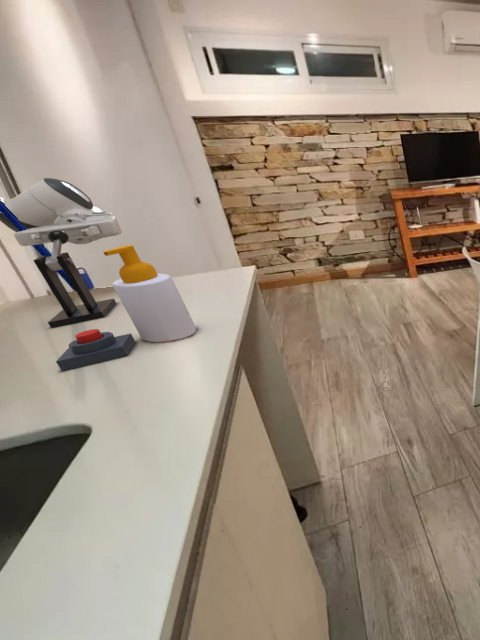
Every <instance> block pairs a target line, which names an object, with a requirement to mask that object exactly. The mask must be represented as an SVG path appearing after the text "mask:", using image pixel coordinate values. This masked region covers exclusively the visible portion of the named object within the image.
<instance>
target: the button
mask: <svg viewBox="0 0 480 640" xmlns="http://www.w3.org/2000/svg"><path fill="white" fill-rule="evenodd" d="M74 337H75V340H78V342H79V344H83V343H88V342H92V341H95V340H98V339H100V338H102V337H103V336H102V334H101V331H100V329H98V328H92V329H87V330H83V331H81V332H79V333H76V334H75V335H74Z"/></svg>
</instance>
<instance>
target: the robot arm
mask: <svg viewBox="0 0 480 640" xmlns="http://www.w3.org/2000/svg"><path fill="white" fill-rule="evenodd" d="M0 201H1V202H3V203H4V204H5V206H6V207H7V208H8V209H9V210H10V211H11V212H12V213H13V214H14V215H15V216H16V217H17V218H18V220H19V221H20V223H21V224H22V225H24V226H25V227H26V228H27V229H26V230H22V231H19V230H18V229H17V228H16V227H15V226H14V225H13V224H12V222H11V221H10V220H9V219H8V218H7V217H6V216H5V215H4V214H3V213H0V222H1V223H2V224H3V225H5V227H7V228H9V229H10V230H12V231H13V232H14V233H13V236H14V239H15V240H16V242H17V243H18V245H20V246H21V247H29V246H36V245H43V244H50V243H52V242H51V241H50V240H49V239H48V234H49V233H50V232H51V231H54V230H60V231H63V232H65V233H66V234H67V235H68V236H69V240H68V242H67V243H71V244H74V245H88V244H91V243H92V242H97V241H98V240H99V241H100V240H101V239H105V238H109V237H115V236H119V235H121V234H123V230H122V228H121V226H120V223H119V222H118V220H117V218H116V216H115V215H114V213H113V212H111V211H107V212H106V211H103V209H101V208H98V207H96V206H94V204H93V201H92V199H91V198H90V196H88V195H87V194H86V193H84V192H83V191H82V190H81V189H80V188H78V187H77V186H75V185H74V184H72V183H70V182H68V181H65V180H62V179H58V178H52V177H45V178H42V179H41V180H39V181H37V182H35V183H34V184H32V185H31V186H30V187H28V188H27V189H26V190H24V191H22V192H21V193H18V194H17V195H16V196H14V197H13V198H4V197H2V196H0Z"/></svg>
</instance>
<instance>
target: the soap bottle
mask: <svg viewBox="0 0 480 640" xmlns="http://www.w3.org/2000/svg"><path fill="white" fill-rule="evenodd" d="M102 253H103V255H104V256H106V257H107V256H113V255H117V254H118V255H119V256H120V259H121V260H122V263H123V265H122V266H121V267H120V268H119V272H118V274H119V277H120V278H119V279H117V280H116V279H115V280H114V281H113V282H112V284H111V285H112V287H113V289H114V291H115V293H116V295H117V296H118V298H119V300H120V302H121V304H122V305H123V307H124V309H125V312H126V313H127V314H128V317H129V318H130V320H131V322H132V324H133V326H134V327H135V329H136V331H137V333H138V335H139V336H140V338H141V339H142V340H143V341H146V342H152V343H162V342H172V341H177V340H182V339H185V338H188V337H190V336H192V335H194V334H195V333H196V331H197V326H196V325H195V322H194V321H193V318H192V317H191V314H190V312H189V310H188V308H187V306H186V304H185V301H184V300H183V298H182V296H181V293H180V292H179V290H178V287H177V286H176V283H175V281H174V279H173V278H172V277H171V276H170V275H169V274H166V273H158V272H157V270H156V268H155V267H154V265H153V264H151V263H150V262H144V261H142V260H141V258H140V257H139V255H138V253H137V250H136V249H135V247H134V245H133V244H127V245H122V246H118V247H115V248H114V247H113V248H111V249H107V250H104V251H102Z"/></svg>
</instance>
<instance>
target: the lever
mask: <svg viewBox="0 0 480 640" xmlns="http://www.w3.org/2000/svg"><path fill="white" fill-rule="evenodd" d="M48 239H49V240H50V241H51V243H52V251H51V255H50V256H46V262H45V264H46V265H47V267H48V268H49V269H50V270H51V271H55V272H57V271H64V270H63V268H62V266H61V265H60V263H59V261H58V259H57V258H56V257H57V256H58V255H60V254H62V246H63V245H65V244H66V243H69V242H68V240H69V236H68V235H67V234H66V233H65V232H63V231H60V230H54V231H51V232H50V233H49V234H48Z"/></svg>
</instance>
